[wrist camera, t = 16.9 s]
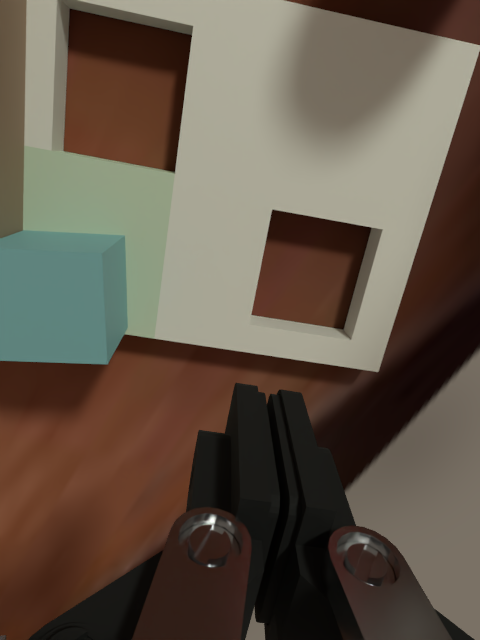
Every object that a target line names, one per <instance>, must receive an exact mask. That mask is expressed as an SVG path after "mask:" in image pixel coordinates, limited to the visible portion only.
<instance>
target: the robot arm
mask: <svg viewBox="0 0 480 640" xmlns="http://www.w3.org/2000/svg"><path fill="white" fill-rule="evenodd" d="M254 605H255V618H256V622H259V623H264V625H265V639H266V640H474V639H473V638H472V637H470V636H469V635H467V634H466V633H465V632H464V631H463V630H461V629H460V628H458V627H457V626H456V625H455V624H454V623H452V622H451V621H450V620H448V619H447V618H446V617H444V616H443V615H442V614H441V613H439V612H438V611H437V610H435V609H434V608H433V606H432V605H431V603H430V601H429V599H428V598H427V596H426V594H425V593H424V591H423V589H422V588H421V586H420V584H419V583H418V581H417V579H416V577H415V576H414V574H413V572H412V571H411V569H410V567H409V565H408V564H407V562H406V560H405V559H404V557H403V556H402V554H401V553H400V552H399V550H398V549H397V548H396V547H395V546H394V545H393V544H392V543H391V542H390V541H388V539H386V538H385V537H383V536H381V535H380V534H378V533H377V532H375V531H373V530H369V529H367V528H364V527H359V526H356V524H355V522H354V519H353V516H352V513H351V510H350V507H349V504H348V501H347V498H346V495H345V492H344V489H343V486H342V483H341V480H340V477H339V474H338V472H337V469H336V466H335V463H334V460H333V457H332V454H331V452H330V450H329V449H327V448H322V447H318V446H317V443H316V439H315V436H314V433H313V429H312V426H311V423H310V419H309V416H308V413H307V409H306V406H305V403H304V399H303V396H302V394H301V393H299V392H292V391H286V390H279V391H278V393H277V395H275V394H270V396H269V399H268V403H267V404H266V397H265V393H261V392H258V387H257V386H253V385H246V384H240V383H236V384H235V387H234V391H233V396H232V401H231V406H230V410H229V415H228V420H227V425H226V430H225V434H224V433H217V432H210V431H203V430H199V432H198V436H197V442H196V447H195V453H194V459H193V465H192V471H191V478H190V485H189V492H188V500H187V509H186V512H185V513H183V514H182V515H181V516H180V517H179V518H177V519H176V521H175V522H174V524H173V526H172V528H171V530H170V532H169V535H168V538H167V541H166V544H165V547H164V550H163V551H161V552H160V553H158V554H156V555H155V556H153V557H152V558H150V559H149V560H147V561H145V562H144V563H142V564H141V565H139V566H138V567H136V568H134V569H133V570H131V571H130V572H128V573H127V574H125V575H123V576H122V577H120V578H119V579H117V580H115V581H114V582H112V583H111V584H109V585H108V586H106V587H104V588H103V589H101V590H100V591H98V592H97V593H95V594H93V595H92V596H90V597H89V598H87V599H86V600H84V601H82V602H81V603H79V604H78V605H76V606H75V607H73V608H71V609H70V610H68V611H67V612H65V613H64V614H62V615H60V616H59V617H57V618H56V619H54V620H53V621H51V622H49V623H48V624H46V625H45V626H43V627H42V628H41V629H40V630H39V631H37V632H36V633H35V634H34V635H32V636H31V637H30V638H29V640H245V638H246V634H247V630H248V627H249V623H250V620H251V616H252V612H253V609H254ZM0 640H6V635H4V636H0Z"/></svg>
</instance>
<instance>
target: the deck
mask: <svg viewBox="0 0 480 640" xmlns="http://www.w3.org/2000/svg"><path fill="white" fill-rule="evenodd" d="M70 9H74V10H79V11H84V12H88V13H93V14H97V15H102V16H107V17H111V18H116V19H120V20H125V21H129V22H134V23H139V24H143V25H148V26H152V27H157V28H162V29H166V30H171V31H175V32H180V33H185V34H189V35H192V40H191V48H190V56H189V64H188V72H187V80H186V88H185V96H184V104H183V112H182V121H181V129H180V137H179V145H178V153H177V161H176V169H175V172H172V171H166V170H161V169H156V168H150V167H145V166H140V165H134V164H129V163H124V162H118V161H113V160H107V159H102V158H97V157H91V156H86V155H81V154H75V153H70V152H65V151H63V149H64V126H65V103H66V81H67V58H68V35H69V13H70ZM479 51H480V45H475V44H471V43H467V42H462V41H458V40H453V39H449V38H445V37H440V36H436V35H432V34H427V33H423V32H419V31H414V30H410V29H406V28H401V27H397V26H393V25H388V24H384V23H380V22H375V21H371V20H366V19H362V18H358V17H353V16H349V15H345V14H340V13H336V12H332V11H327V10H323V9H319V8H314V7H310V6H306V5H301V4H297V3H293V2H288V1H284V0H0V238H3V237H6V236H9V235H11V234H14V233H17V232H20V231H23V230H29V231H49V232H69V233H88V234H108V235H125V250H126V284H127V317H128V328H127V330H126V332H125V334H127V335H133V336H140V337H147V338H154V339H160V340H167V341H174V342H180V343H187V344H194V345H200V346H207V347H214V348H221V349H227V350H234V351H241V352H247V353H254V354H261V355H268V356H274V357H281V358H288V359H294V360H301V361H308V362H314V363H321V364H328V365H335V366H341V367H348V368H355V369H361V370H368V371H375V372H378V371H379V368H380V365H381V362H382V359H383V356H384V352H385V349H386V346H387V343H388V340H389V336H390V333H391V330H392V327H393V324H394V321H395V317H396V314H397V311H398V308H399V305H400V302H401V298H402V295H403V292H404V289H405V286H406V282H407V279H408V276H409V273H410V270H411V267H412V263H413V260H414V257H415V254H416V251H417V248H418V244H419V241H420V238H421V235H422V232H423V228H424V225H425V222H426V219H427V216H428V213H429V209H430V206H431V203H432V200H433V197H434V194H435V190H436V187H437V184H438V181H439V178H440V175H441V171H442V168H443V165H444V162H445V159H446V155H447V152H448V149H449V146H450V143H451V140H452V136H453V133H454V130H455V127H456V124H457V121H458V117H459V114H460V111H461V108H462V105H463V101H464V98H465V95H466V92H467V89H468V86H469V82H470V79H471V76H472V73H473V70H474V67H475V63H476V60H477V57H478V54H479ZM272 209H273V210H279V211H284V212H290V213H295V214H301V215H306V216H312V217H317V218H323V219H328V220H333V221H339V222H344V223H350V224H355V225H361V226H366V227H372V228H371V232H370V236H369V239H368V243H367V246H366V250H365V254H364V257H363V261H362V265H361V268H360V272H359V275H358V279H357V283H356V286H355V290H354V293H353V297H352V301H351V304H350V308H349V312H348V315H347V319H346V322H345V326H344V330H343V329H336V328H330V327H324V326H317V325H311V324H305V323H298V322H292V321H286V320H279V319H273V318H267V317H260V316H254V315H251V313H252V308H253V303H254V298H255V293H256V288H257V283H258V278H259V273H260V268H261V263H262V258H263V253H264V248H265V243H266V238H267V233H268V228H269V223H270V218H271V213H272Z"/></svg>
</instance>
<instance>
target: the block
mask: <svg viewBox="0 0 480 640" xmlns="http://www.w3.org/2000/svg"><path fill="white" fill-rule="evenodd" d="M127 328H128V317H127V284H126V250H125V235H108V234H88V233H69V232H49V231H29V230H23V231H20V232H17V233H14V234H11V235H9V236H6V237H3V238H0V361H23V362H52V363H81V364H108V362H109V361H110V359H111V357H112V355H113V354H114V352H115V350H116V348H117V346H118V345H119V343H120V341H121V339H122V337H123V336H124V334H125V332H126V330H127Z"/></svg>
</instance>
